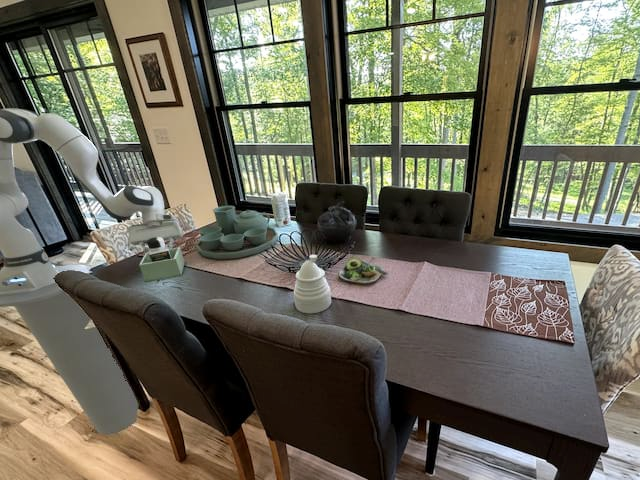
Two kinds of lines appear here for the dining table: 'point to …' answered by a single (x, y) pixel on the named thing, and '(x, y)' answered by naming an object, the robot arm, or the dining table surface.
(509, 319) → the dining table surface
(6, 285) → the robot arm
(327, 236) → the coal bowl
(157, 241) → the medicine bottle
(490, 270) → the dining table surface
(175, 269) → the bin
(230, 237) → the tea set
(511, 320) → the dining table surface
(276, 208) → the white ribbed cylinder
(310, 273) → the honey pot
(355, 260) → the salad plate
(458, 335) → the dining table surface
